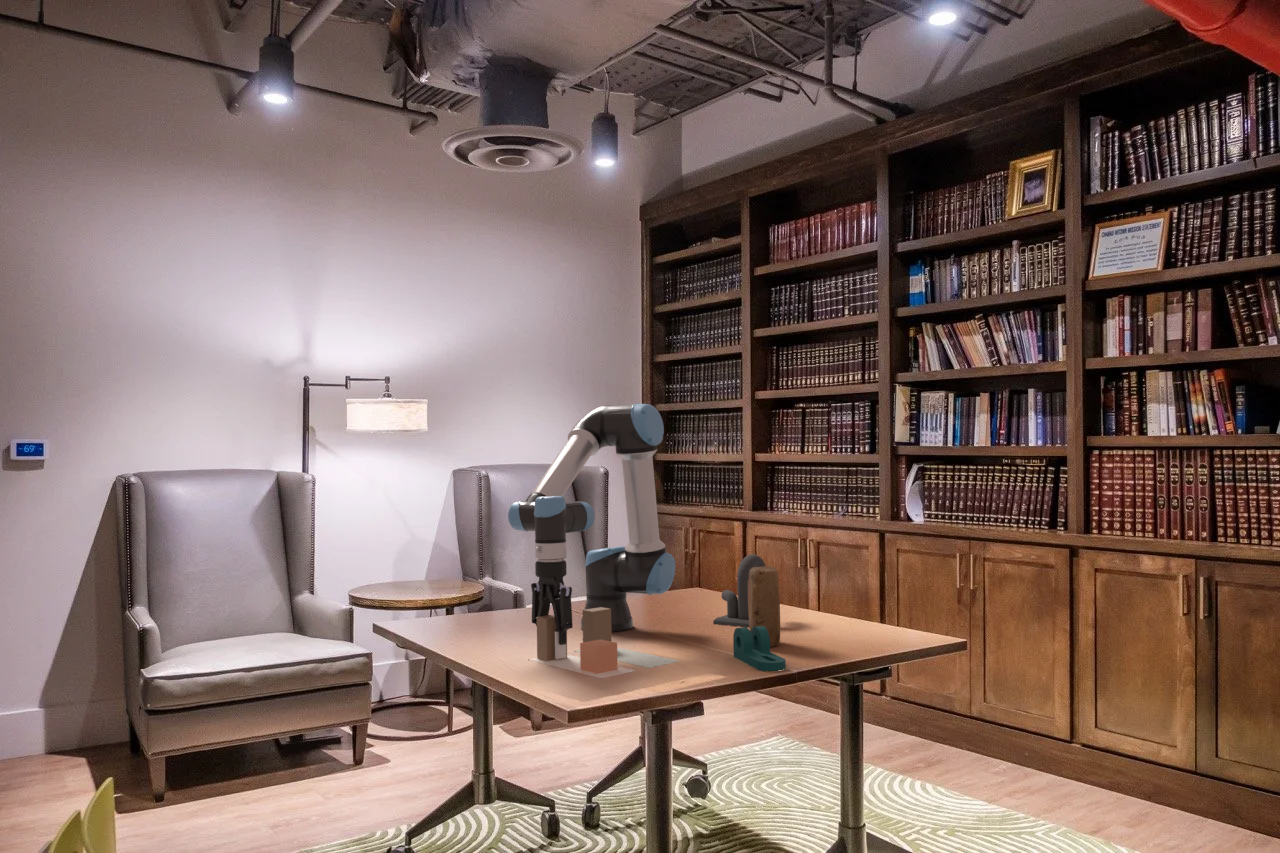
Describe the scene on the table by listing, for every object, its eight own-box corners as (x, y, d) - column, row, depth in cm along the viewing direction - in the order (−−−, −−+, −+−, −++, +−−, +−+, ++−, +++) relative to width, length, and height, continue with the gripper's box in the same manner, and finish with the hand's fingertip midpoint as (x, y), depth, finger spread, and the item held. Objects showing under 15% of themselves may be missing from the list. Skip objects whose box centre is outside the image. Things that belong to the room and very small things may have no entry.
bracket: (733, 658, 236) (733, 625, 237) (759, 655, 238) (758, 624, 239) (763, 673, 219) (762, 638, 219) (790, 671, 221) (789, 636, 221)
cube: (580, 669, 219) (580, 643, 219) (601, 665, 223) (600, 639, 223) (597, 673, 215) (596, 646, 215) (617, 669, 219) (617, 642, 219)
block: (782, 647, 246) (780, 569, 247) (753, 648, 246) (751, 570, 247) (774, 639, 257) (773, 564, 258) (746, 640, 257) (745, 565, 258)
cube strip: (528, 664, 231) (527, 617, 232) (561, 657, 238) (560, 612, 238) (601, 683, 210) (600, 632, 211) (635, 676, 217) (635, 626, 217)
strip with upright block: (574, 655, 241) (573, 610, 241) (605, 649, 247) (604, 605, 248) (649, 673, 220) (648, 623, 220) (680, 666, 226) (679, 618, 227)
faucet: (791, 621, 286) (790, 553, 286) (767, 629, 273) (766, 558, 273) (737, 616, 296) (736, 550, 296) (712, 624, 283) (710, 555, 283)
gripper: (515, 558, 238) (517, 652, 237) (561, 564, 224) (563, 664, 223) (540, 556, 243) (541, 648, 242) (587, 561, 229) (588, 659, 228)
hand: (552, 655), depth 233 cm, fingers open, 6 cm apart
